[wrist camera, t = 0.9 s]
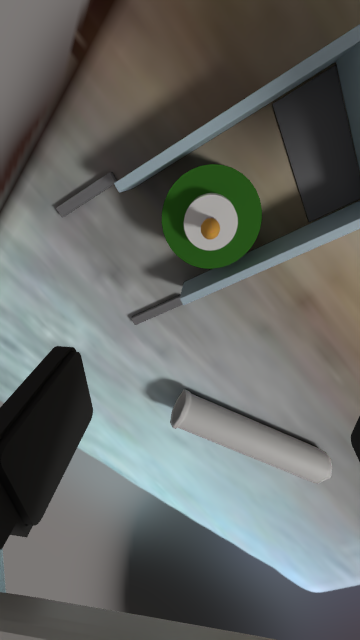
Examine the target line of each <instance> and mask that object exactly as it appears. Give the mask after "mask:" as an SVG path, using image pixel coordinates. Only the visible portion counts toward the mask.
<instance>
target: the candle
mask: <svg viewBox="0 0 360 640" xmlns="http://www.w3.org/2000/svg"><path fill="white" fill-rule="evenodd" d="M261 221H262V208H261V203H260V199H259V196H258V194H257V191H256V189H255V188H254V186H253V185H252V183H251V182H250V180H248V179H247V178H246V177H245V176H244V175H243V174H242V173H240V172H239V171H237V170H235V169H233V168H231V167H228V166H224V165H217V164H209V165H203V166H199V167H197V168H194V169H192V170H190V171H188V172H187V173H185V174H184V175H182V176H181V177H180V178H179V179H178V180H177V181H176V182H175V183H174V184H173V186H172V187H171V189H170V190H169V192H168V194H167V196H166V199H165V201H164V205H163V210H162V227H163V232H164V235H165V238H166V241H167V243H168V244H169V246H170V248H171V249H172V250H173V252H174V253H175V254H176V255H177V256H178V257H179V258H181V259H182V260H183V261H185V262H186V263H188V264H190V265H192V266H196V267H199V268H206V269H214V268H221V267H224V266H228V265H230V264H232V263H234V262H236V261H237V260H239V259H240V258H241V257H243V256H244V255H245V254H246V253H247V252H248V250H249V249H250V248H251V247H252V245H253V244H254V242H255V240H256V238H257V236H258V233H259V231H260V226H261Z"/></svg>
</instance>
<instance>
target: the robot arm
mask: <svg viewBox="0 0 360 640" xmlns="http://www.w3.org/2000/svg"><path fill="white" fill-rule="evenodd" d="M92 414H93V407H92V403H91V398H90V394H89V389H88V385H87V381H86V376H85V372H84V367H83V363H82V358H81V355H80V353H79V352H76V350H75V348H73V347H61V346H56V347H54V348H53V349H52V350H51V351H50V352H49V354H48V355H47V356H46V357H45V358H44V359H43V360H42V361H41V363H40V364H39V365H38V366H37V367H36V368H35V369H34V370H33V372H32V373H31V374H30V375H29V376H28V377H27V378H26V379H25V381H24V382H23V383H22V384H21V385H20V386H19V387H18V388H17V390H16V391H15V392H14V393H13V394H12V395H11V396H10V397H9V398H8V400H7V401H6V402H5V403H4V404H3V405H2V406H1V407H0V640H275V639H270V638H264V637H258V636H253V635H247V634H242V633H236V632H231V631H225V630H219V629H213V628H208V627H203V626H197V625H191V624H186V623H180V622H174V621H169V620H163V619H158V618H152V617H146V616H140V615H135V614H128V613H123V612H117V611H112V610H106V609H100V608H94V607H88V606H82V605H77V604H71V603H65V602H59V601H54V600H48V599H42V598H36V597H30V596H23V595H16V594H9V593H6V589H5V576H4V565H3V564H4V563H3V552H2V551H3V550H2V548H3V546H4V544H5V542H6V541H7V539H8V537H9V535H16V536H22V537H27V536H28V534H29V532H30V530H31V528H32V526H33V525H37V524H38V523H39V522H40V520H41V518H42V517H43V515H44V513H45V511H46V509H47V507H48V504H49V503H50V501H51V499H52V497H53V495H54V493H55V491H56V489H57V487H58V485H59V483H60V480H61V479H62V477H63V475H64V473H65V470H66V469H67V467H68V465H69V463H70V461H71V459H72V456H73V455H74V453H75V450H76V449H77V447H78V445H79V443H80V441H81V439H82V437H83V435H84V433H85V431H86V429H87V427H88V425H89V423H90V421H91V418H92ZM351 443H352V446H353V448H354V451H355V453H356V455H357V457H358V459H359V461H360V417H359V419H358V421H357V423H356V425H355V427H354V430H353V432H352V434H351Z"/></svg>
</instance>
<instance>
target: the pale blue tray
mask: <svg viewBox="0 0 360 640" xmlns="http://www.w3.org/2000/svg"><path fill="white" fill-rule="evenodd" d="M335 62H336V65H337V69H336V65H335V66H333V67H332V68H330V69H329V70H327V71H325V72H324V73H322V74H320V75H319V76H317V77H316V78H314V79H312V80H311V81H309V82H308V83H306V84H304V85H303V86H301V87H300V88H298V89H296V90H295V91H293V92H291V93H290V94H288V95H287V96H285V97H283V98H282V99H280V100H279V101H277V102H275V103H274V104H272V105H273V108H274V111H275V115H276V118H277V121H278V124H279V127H280V131H281V134H282V137H283V140H284V144H285V147H286V150H287V153H288V156H289V160H290V163H291V166H292V169H293V172H294V176H295V179H296V182H297V185H298V189H299V192H300V195H301V198H302V201H303V205H304V208H305V211H306V214H307V218H308V221H309V222H311V221H313V220H315V219H317V218H320V217H322V216H324V215H326V214H328V213H330V212H332V211H335V210H337V209H339V208H341V207H343V206H345V205H347V204H350V203H352V202H354V201H356V200H358V199H360V175H359V171H360V24H359V25H358V26H356V27H355V28H353V29H351V30H350V31H348V32H347V33H345V34H344V35H342V36H341V37H339V38H338V39H336V40H335V41H333V42H331V43H330V44H328V45H327V46H325V47H324V48H322V49H321V50H319V51H318V52H316V53H314V54H313V55H311V56H310V57H308V58H307V59H305V60H304V61H302V62H301V63H299V64H297V65H296V66H294V67H293V68H291V69H290V70H288V71H287V72H285V73H284V74H282V75H281V76H279V77H277V78H276V79H274V80H273V81H271V82H270V83H268V84H267V85H265V86H264V87H262V88H260V89H259V90H257V91H256V92H254V93H253V94H251V95H250V96H248V97H247V98H245V99H243V100H242V101H240V102H239V103H237V104H236V105H234V106H233V107H231V108H230V109H228V110H227V111H225V112H223V113H222V114H220V115H219V116H217V117H216V118H214V119H213V120H211V121H210V122H208V123H206V124H205V125H203V126H202V127H200V128H199V129H197V130H196V131H194V132H193V133H191V134H189V135H188V136H186V137H185V138H183V139H182V140H180V141H179V142H177V143H176V144H174V145H172V146H171V147H169V148H168V149H166V150H165V151H163V152H162V153H160V154H159V155H157V156H156V157H154V158H152V159H151V160H149V161H148V162H146V163H145V164H143V165H142V166H140V167H139V168H137V169H135V170H134V171H132V172H131V173H129V174H128V175H126V176H125V177H123V178H122V179H120V180H118V181H117V182H115V183H114V185H115V186H116V188H117V190H118V192H119V193H120V192H123V191H127V190H130V189H133V188H134V187H136V186H138V185H139V184H141V183H142V182H144V181H146V180H147V179H149V178H150V177H152V176H154V175H155V174H157V173H158V172H160V171H162V170H163V169H165V168H166V167H168V166H170V165H171V164H173V163H174V162H176V161H178V160H179V159H181V158H182V157H184V156H186V155H187V154H189V153H190V152H192V151H194V150H195V149H197V148H198V147H200V146H202V145H203V144H205V143H206V142H208V141H210V140H211V139H213V138H214V137H216V136H218V135H219V134H221V133H222V132H224V131H226V130H227V129H229V128H230V127H232V126H234V125H235V124H237V123H238V122H240V121H242V120H243V119H245V118H246V117H248V116H250V115H251V114H253V113H254V112H256V111H258V110H259V109H261V108H262V107H264V106H266V105H267V104H269V103H270V102H272V101H274V100H275V99H277V98H278V97H280V96H282V95H283V94H285V93H286V92H288V91H290V90H291V89H293V88H294V87H296V86H298V85H299V84H301V83H302V82H304V81H306V80H307V79H309V78H311V77H312V76H314V75H315V74H317V73H319V72H320V71H322V70H323V69H325V68H327V67H328V66H330V65H331V64H333V63H335ZM337 70H338V74H339V78H338V74H337ZM339 79H340V83H341V88H342V92H341V88H340V83H339ZM342 93H343V97H344V101H343V97H342ZM344 102H345V106H346V111H347V115H346V111H345V106H344ZM347 116H348V120H349V124H348V120H347ZM349 125H350V129H351V133H350V129H349ZM351 134H352V138H351ZM352 139H353V143H354V147H353V143H352ZM354 148H355V152H356V156H355V152H354ZM356 157H357V161H356ZM357 162H358V165H357ZM358 166H359V170H358ZM358 229H360V201H358V202H356V203H354V204H351V205H349V206H347V207H345V208H343V209H341V210H339V211H336V212H334V213H332V214H330V215H328V216H326V217H323V218H321V219H319V220H317V221H315V222H313V223H311V224H308V225H306V226H304V227H302V228H300V229H298V230H295V231H293V232H291V233H289V234H287V235H285V236H283V237H280V238H278V239H276V240H274V241H272V242H270V243H268V244H265V245H263V246H261V247H259V248H257V249H255V250H252V251H250V252H248V253H246V254H245V255H244V256H243V257H241V258H240V259H239V260H237V261H236V262H234V263H232V264H230V265H228V266H224V267H221V268H214V269H212V270H209V271H207V272H205V273H203V274H201V275H199V276H196V277H194V278H192V279H190V280H188V281H186V282H184V284H183V288H182V292H181V296H180V300H181V302H182V304H183V305H185V304H188V303H190V302H192V301H195V300H197V299H199V298H201V297H204V296H206V295H208V294H211V293H213V292H215V291H218V290H220V289H222V288H224V287H227V286H229V285H231V284H234V283H236V282H238V281H240V280H243V279H245V278H247V277H250V276H252V275H254V274H257V273H259V272H261V271H263V270H266V269H268V268H270V267H273V266H275V265H277V264H280V263H282V262H284V261H286V260H289V259H291V258H293V257H296V256H298V255H300V254H302V253H305V252H307V251H309V250H312V249H314V248H316V247H319V246H321V245H323V244H325V243H328V242H330V241H332V240H335V239H337V238H339V237H342V236H344V235H346V234H348V233H351V232H353V231H355V230H358Z"/></svg>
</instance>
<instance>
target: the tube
mask: <svg viewBox="0 0 360 640" xmlns="http://www.w3.org/2000/svg"><path fill="white" fill-rule="evenodd" d="M170 423H171V425H172V427H173V428H175V429H176V428H180V429H183V430H185V431H188V432H190V433H192V434H195V435H197V436H200V437H202V438H205V439H207V440H210V441H212V442H215V443H217V444H220V445H222V446H225V447H227V448H229V449H232V450H234V451H237V452H239V453H242V454H244V455H247V456H249V457H252V458H254V459H257V460H259V461H261V462H264V463H266V464H269V465H271V466H274V467H276V468H279V469H281V470H284V471H286V472H289V473H291V474H293V475H296V476H298V477H301V478H303V479H306V480H308V481H311V482H313V483H316V484H318V483H320V482H322V481H324V480H326V479H329V478H331V474H332V463H331V458H330V457H329V456H328V455H327V453H326V452H324V451H322V450H321V449H319V448H317V447H315V446H312V445H310V444H308V443H305V442H303V441H301V440H298V439H296V438H294V437H291V436H289V435H287V434H284V433H282V432H280V431H277V430H275V429H273V428H270V427H268V426H266V425H263V424H261V423H259V422H256V421H254V420H252V419H249V418H247V417H245V416H242V415H240V414H238V413H235V412H233V411H231V410H228V409H226V408H224V407H221V406H219V405H217V404H215V403H212V402H210V401H208V400H205V399H203V398H201V397H198V396H196V395H194V394H191V393H190V392H189V391H188V390H186V389H184V390H183V391H182V393H181V394H180V396H179V397H178V399H177V400H176V403H175V405H174V408H173V410H172V414H171V421H170Z"/></svg>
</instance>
